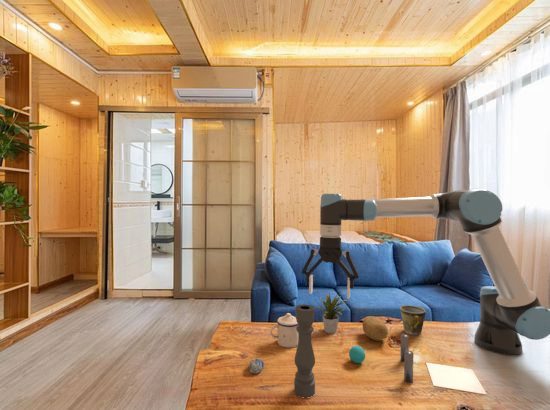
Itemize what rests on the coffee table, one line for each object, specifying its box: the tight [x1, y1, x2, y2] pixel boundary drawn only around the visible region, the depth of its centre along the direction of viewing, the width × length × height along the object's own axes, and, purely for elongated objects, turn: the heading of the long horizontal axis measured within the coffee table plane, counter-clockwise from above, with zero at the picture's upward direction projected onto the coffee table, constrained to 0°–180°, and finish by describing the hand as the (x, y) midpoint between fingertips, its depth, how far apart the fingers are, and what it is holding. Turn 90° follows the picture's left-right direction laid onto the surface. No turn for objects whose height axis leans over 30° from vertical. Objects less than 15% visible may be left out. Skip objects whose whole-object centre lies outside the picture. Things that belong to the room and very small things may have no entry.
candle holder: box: [293, 303, 316, 399], centre depth 90 cm, size 6×6×25 cm
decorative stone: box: [248, 357, 265, 375], centre depth 102 cm, size 6×4×5 cm
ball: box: [348, 345, 366, 364], centre depth 107 cm, size 6×6×6 cm
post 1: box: [400, 333, 410, 363], centre depth 108 cm, size 3×3×9 cm
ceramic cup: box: [400, 304, 426, 336], centre depth 131 cm, size 13×10×10 cm
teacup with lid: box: [269, 312, 299, 349], centre depth 121 cm, size 12×9×12 cm
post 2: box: [403, 350, 414, 384], centre depth 96 cm, size 3×3×9 cm
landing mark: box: [425, 362, 488, 396], centre depth 98 cm, size 14×14×1 cm
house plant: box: [316, 293, 348, 334], centre depth 132 cm, size 14×14×16 cm
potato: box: [362, 315, 389, 342], centre depth 126 cm, size 10×14×8 cm
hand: (329, 295), depth 110 cm, fingers open, 13 cm apart
